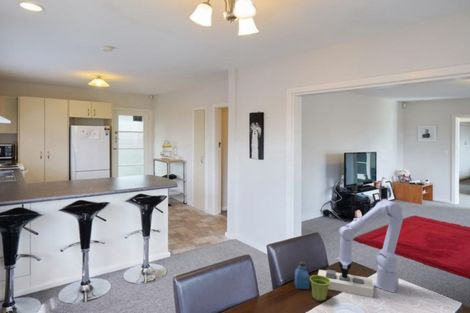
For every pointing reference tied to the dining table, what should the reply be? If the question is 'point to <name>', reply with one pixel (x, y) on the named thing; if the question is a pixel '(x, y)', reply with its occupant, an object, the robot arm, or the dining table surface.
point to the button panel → (350, 284)
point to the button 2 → (358, 281)
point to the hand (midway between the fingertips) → (344, 277)
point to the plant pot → (319, 286)
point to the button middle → (344, 278)
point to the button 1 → (331, 274)
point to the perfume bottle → (301, 276)
